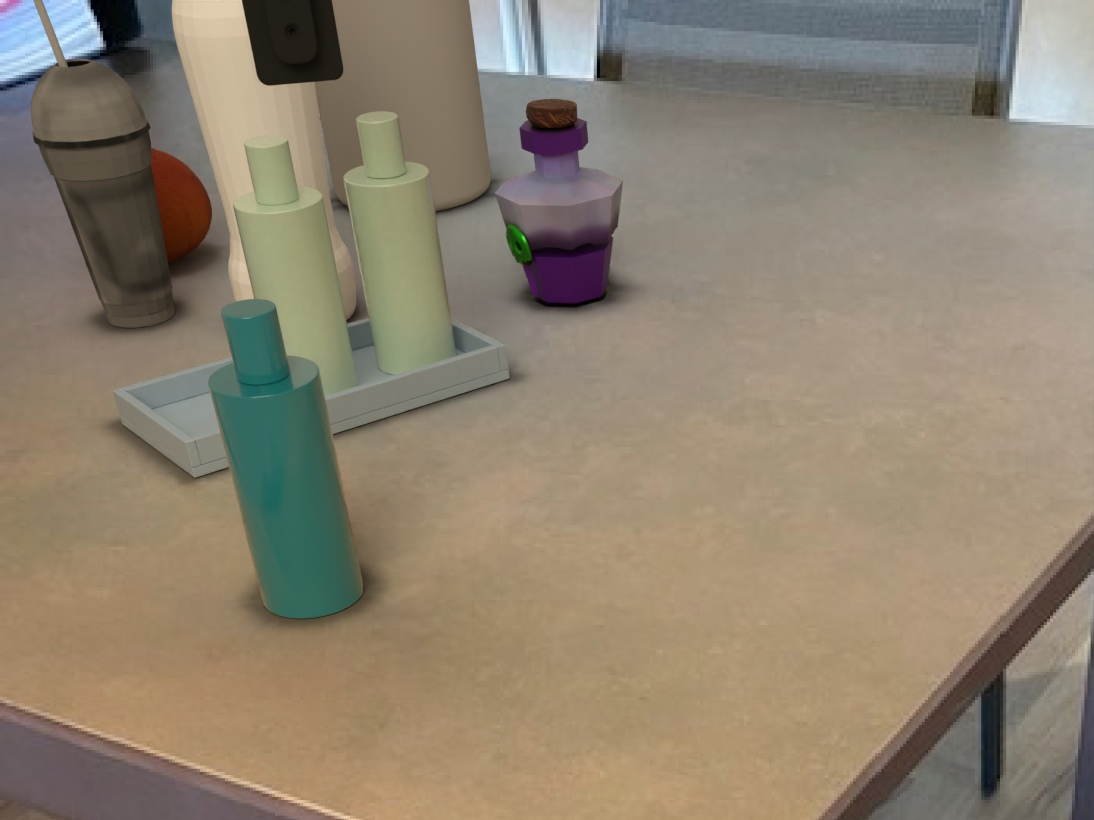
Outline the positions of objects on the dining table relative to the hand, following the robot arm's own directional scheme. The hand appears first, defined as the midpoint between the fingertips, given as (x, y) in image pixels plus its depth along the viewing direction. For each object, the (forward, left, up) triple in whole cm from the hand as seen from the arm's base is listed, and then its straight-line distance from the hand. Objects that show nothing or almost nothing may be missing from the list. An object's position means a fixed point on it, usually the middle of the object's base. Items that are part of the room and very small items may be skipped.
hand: (298, 51), depth 66 cm
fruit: (+13, +57, -24) cm, 63 cm away
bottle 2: (+9, +25, -24) cm, 36 cm away
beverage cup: (+7, +47, -24) cm, 54 cm away
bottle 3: (+16, +25, -24) cm, 38 cm away
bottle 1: (+15, +39, -24) cm, 48 cm away
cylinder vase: (+35, +58, -24) cm, 72 cm away
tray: (+9, +25, -24) cm, 36 cm away
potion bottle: (+31, +30, -24) cm, 50 cm away
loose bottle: (-3, +3, -24) cm, 25 cm away
